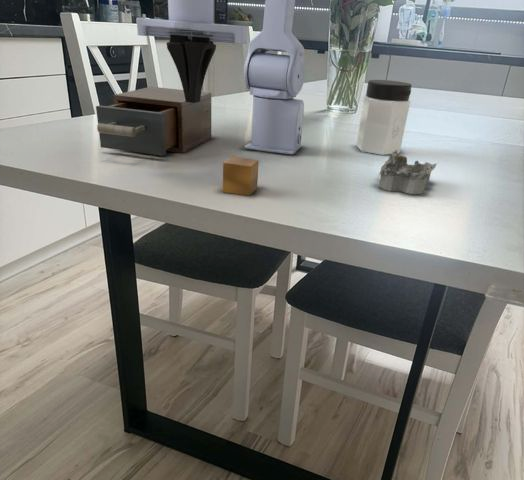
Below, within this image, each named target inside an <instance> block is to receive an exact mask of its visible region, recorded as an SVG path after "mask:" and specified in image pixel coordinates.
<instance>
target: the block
mask: <svg viewBox="0 0 524 480" xmlns="http://www.w3.org/2000/svg"><path fill="white" fill-rule="evenodd" d="M259 161H260V160H259V159H254V158H247V157H241V156H240V157H238V156H230V157H229V158H228V159H226V160H225V161H224V162H222V193H226V194H232V195H233V194H234V195H241V196H247V197H249V196H251V195H252V194H253V193H254V192H256V190H257V189H258V181H259V166H260V165H259Z"/></svg>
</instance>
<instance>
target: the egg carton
mask: <svg viewBox="0 0 524 480" xmlns="http://www.w3.org/2000/svg"><path fill="white" fill-rule="evenodd" d="M436 166H437V163H430V162H427V161H425V162H424V163H420V161H419V160H415V162H414V164H408V157H407V156H405V155H401V154H399V153H397V150H396V151H393V153H391V154H389V157H388V159H387V160H386V161H385V162H384V164H383V165H382V166H381V168H380V171H379V174H378V175H380V180H379V183H378V188H379V189H382V190H385V191H388V192H393V191H396V192H397V191H398V192H403V193H406V194H409V195H423V192H424V190H426V187H427V185H428V184H429V181H430V178H431V174H432V171H434V170H435V168H436Z"/></svg>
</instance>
